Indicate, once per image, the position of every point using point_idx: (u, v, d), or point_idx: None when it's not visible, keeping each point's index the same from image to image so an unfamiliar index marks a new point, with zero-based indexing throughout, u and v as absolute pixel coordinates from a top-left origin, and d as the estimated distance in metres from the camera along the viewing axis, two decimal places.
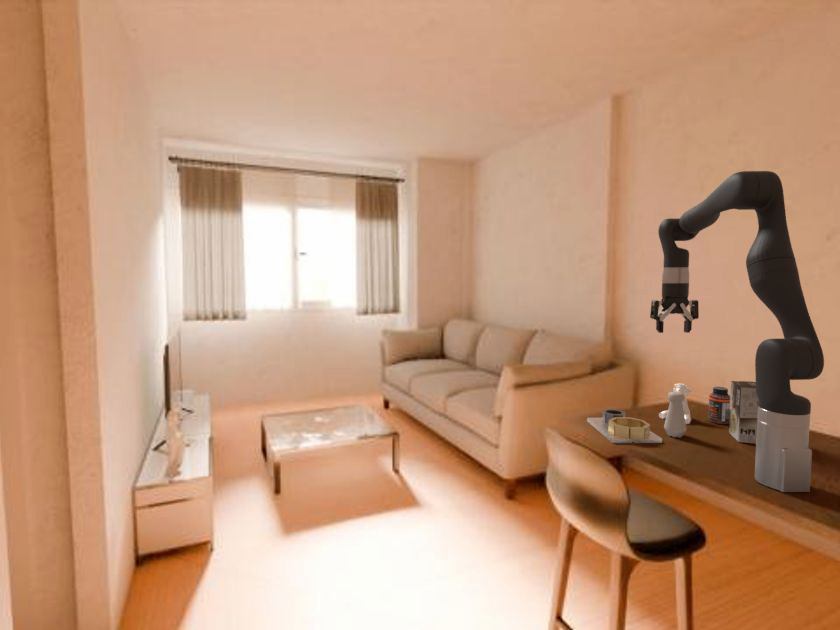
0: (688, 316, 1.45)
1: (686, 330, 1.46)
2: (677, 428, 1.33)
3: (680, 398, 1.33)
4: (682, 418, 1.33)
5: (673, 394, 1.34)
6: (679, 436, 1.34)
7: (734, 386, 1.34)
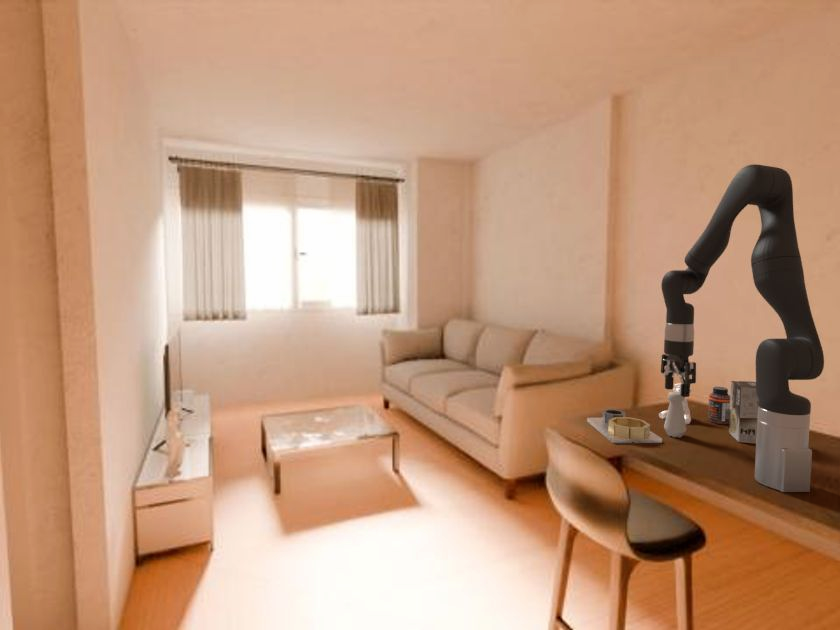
0: None
1: (670, 387, 1.39)
2: (677, 428, 1.33)
3: (680, 398, 1.33)
4: (682, 418, 1.33)
5: (673, 394, 1.34)
6: (679, 436, 1.34)
7: (734, 386, 1.34)
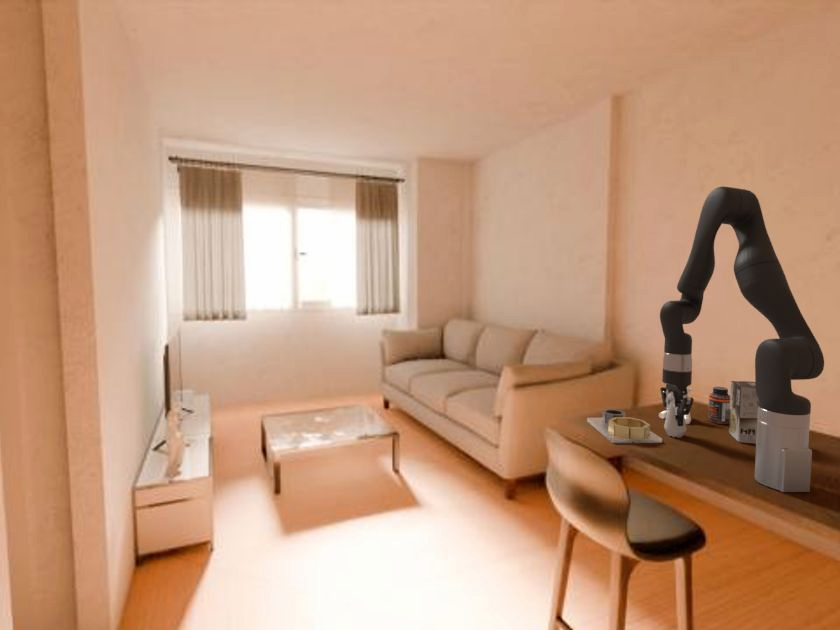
0: None
1: None
2: (677, 428, 1.33)
3: None
4: None
5: None
6: (679, 436, 1.34)
7: (734, 386, 1.34)
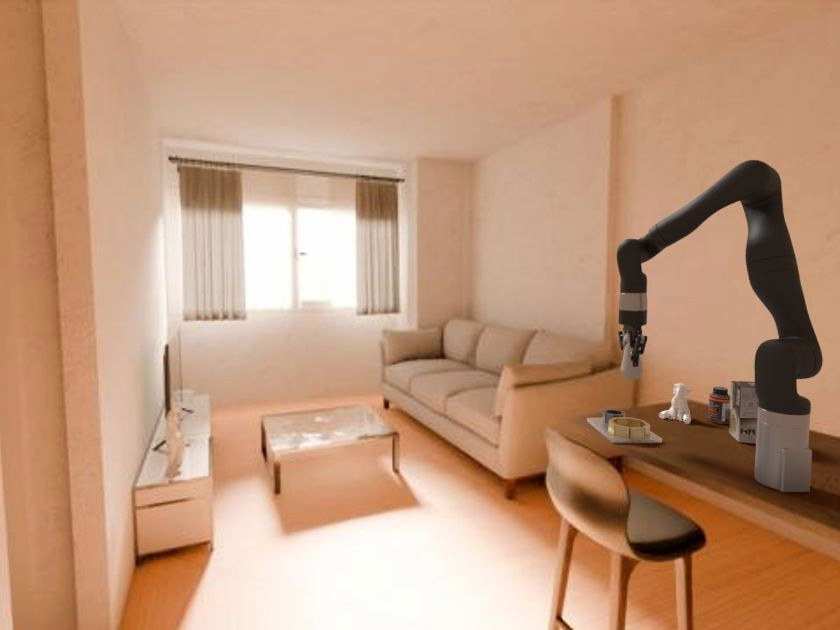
0: None
1: None
2: (632, 369, 1.31)
3: None
4: None
5: None
6: (635, 377, 1.32)
7: (734, 386, 1.34)
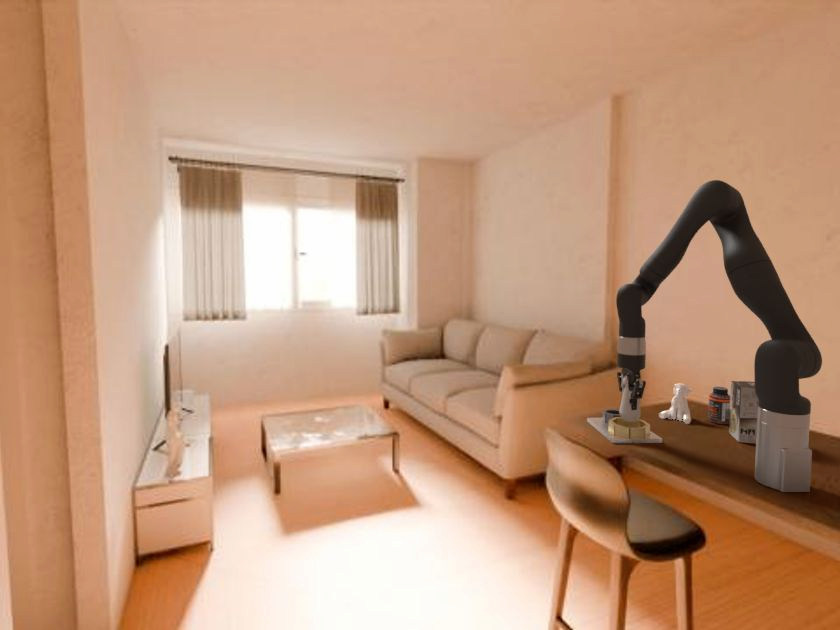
0: None
1: None
2: (631, 412, 1.32)
3: None
4: None
5: None
6: (633, 420, 1.33)
7: (734, 386, 1.34)
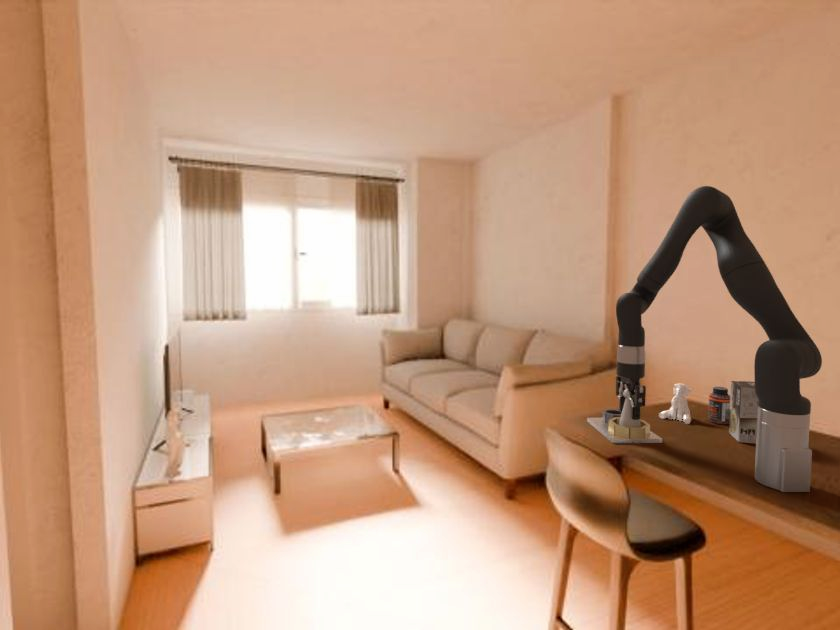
0: None
1: None
2: (631, 425, 1.32)
3: (634, 395, 1.32)
4: None
5: None
6: None
7: (734, 386, 1.34)
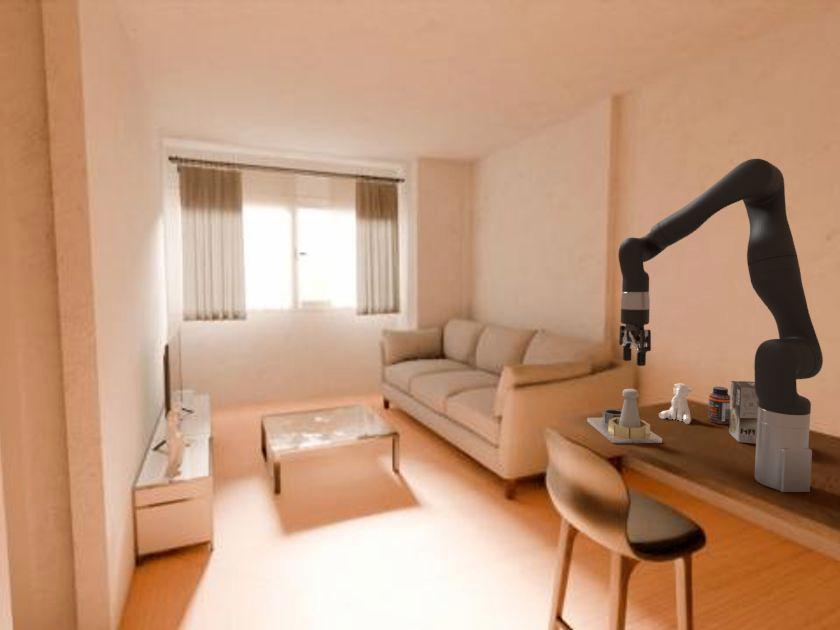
0: None
1: (628, 358, 1.37)
2: (631, 425, 1.32)
3: (633, 394, 1.32)
4: (636, 415, 1.33)
5: (627, 391, 1.33)
6: None
7: (734, 386, 1.34)
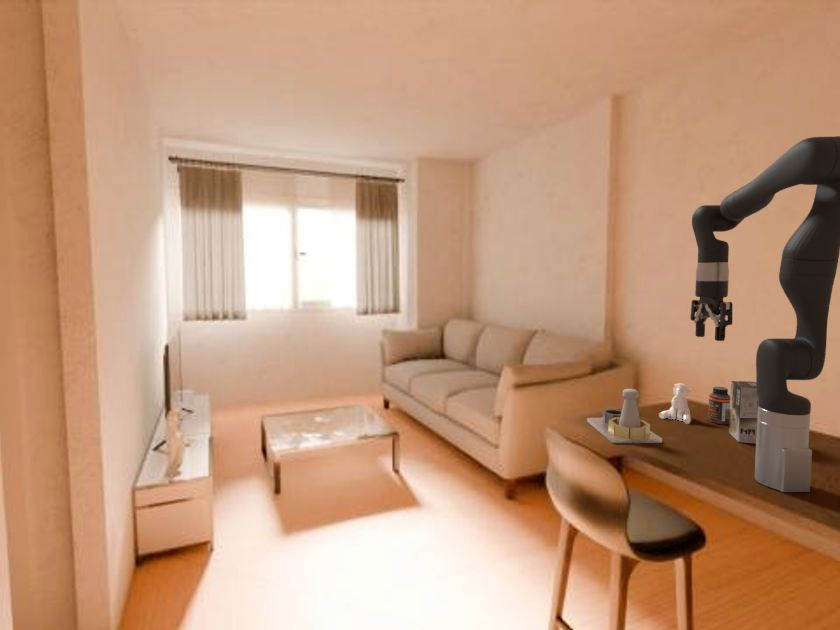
0: None
1: (702, 334, 1.29)
2: (631, 425, 1.32)
3: (633, 394, 1.32)
4: (636, 415, 1.33)
5: (627, 391, 1.33)
6: None
7: (734, 386, 1.34)
